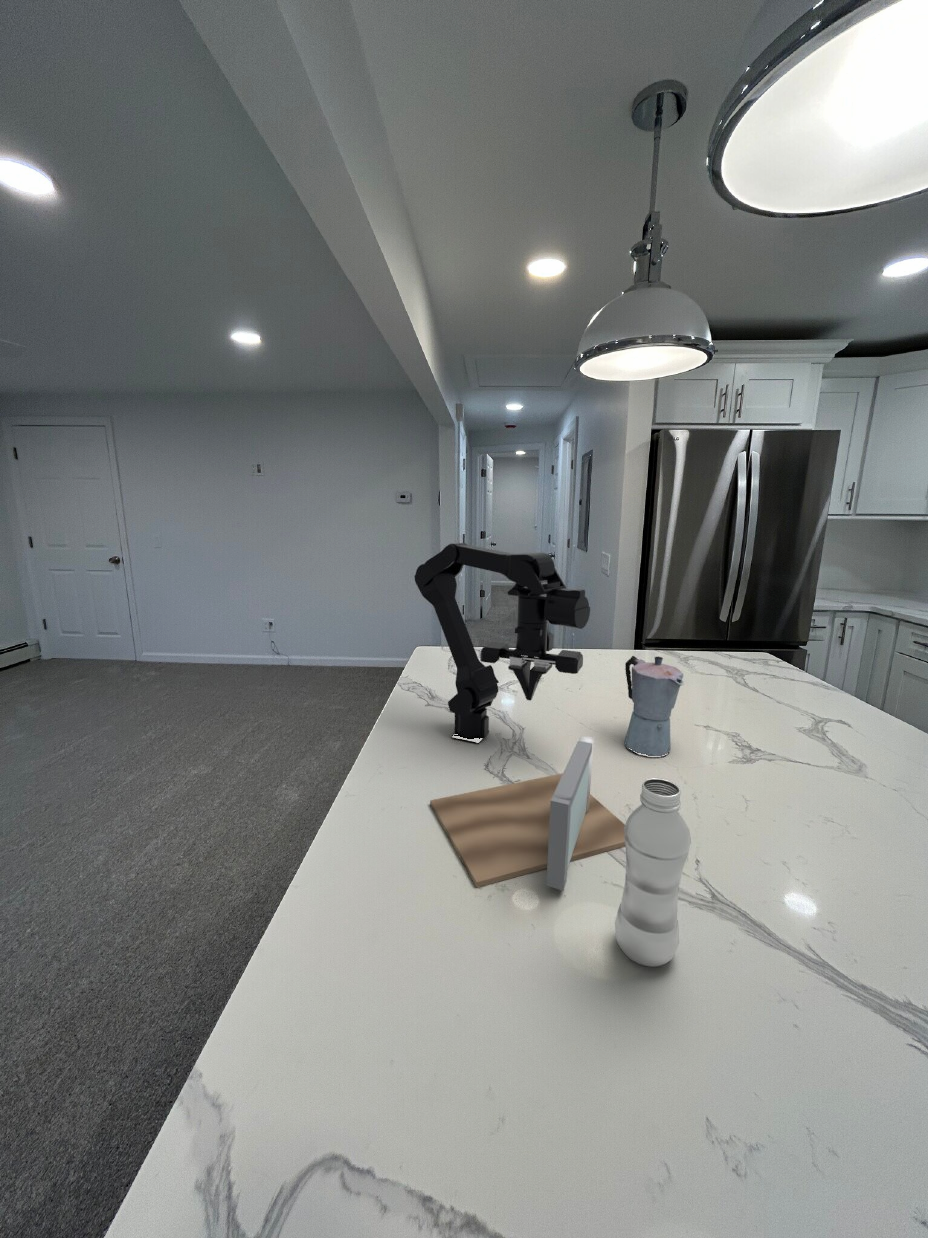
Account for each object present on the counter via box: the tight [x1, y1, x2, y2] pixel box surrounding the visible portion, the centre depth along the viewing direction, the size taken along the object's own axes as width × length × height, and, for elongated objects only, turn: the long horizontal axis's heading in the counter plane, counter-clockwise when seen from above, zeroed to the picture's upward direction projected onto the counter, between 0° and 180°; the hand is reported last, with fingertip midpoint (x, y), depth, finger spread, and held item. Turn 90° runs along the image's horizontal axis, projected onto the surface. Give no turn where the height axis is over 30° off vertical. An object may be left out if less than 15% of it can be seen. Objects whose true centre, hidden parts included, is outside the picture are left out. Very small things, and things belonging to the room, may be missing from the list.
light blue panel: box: [545, 735, 595, 891], centre depth 71 cm, size 20×2×12 cm, turn 157°
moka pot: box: [624, 655, 685, 756], centre depth 102 cm, size 10×15×20 cm, turn 28°
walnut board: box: [429, 772, 626, 888], centre depth 78 cm, size 20×26×1 cm
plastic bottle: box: [614, 777, 692, 968], centre depth 54 cm, size 6×7×20 cm
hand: (529, 699), depth 97 cm, fingers closed
